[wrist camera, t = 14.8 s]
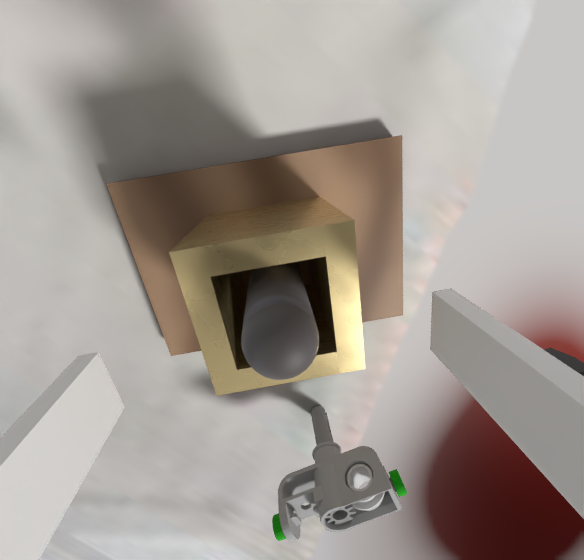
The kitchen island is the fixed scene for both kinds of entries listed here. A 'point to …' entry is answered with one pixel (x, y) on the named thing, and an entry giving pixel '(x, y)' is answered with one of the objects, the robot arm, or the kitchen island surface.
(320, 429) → the mechanical component
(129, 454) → the kitchen island surface
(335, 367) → the hollow square tube
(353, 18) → the kitchen island surface
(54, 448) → the robot arm
